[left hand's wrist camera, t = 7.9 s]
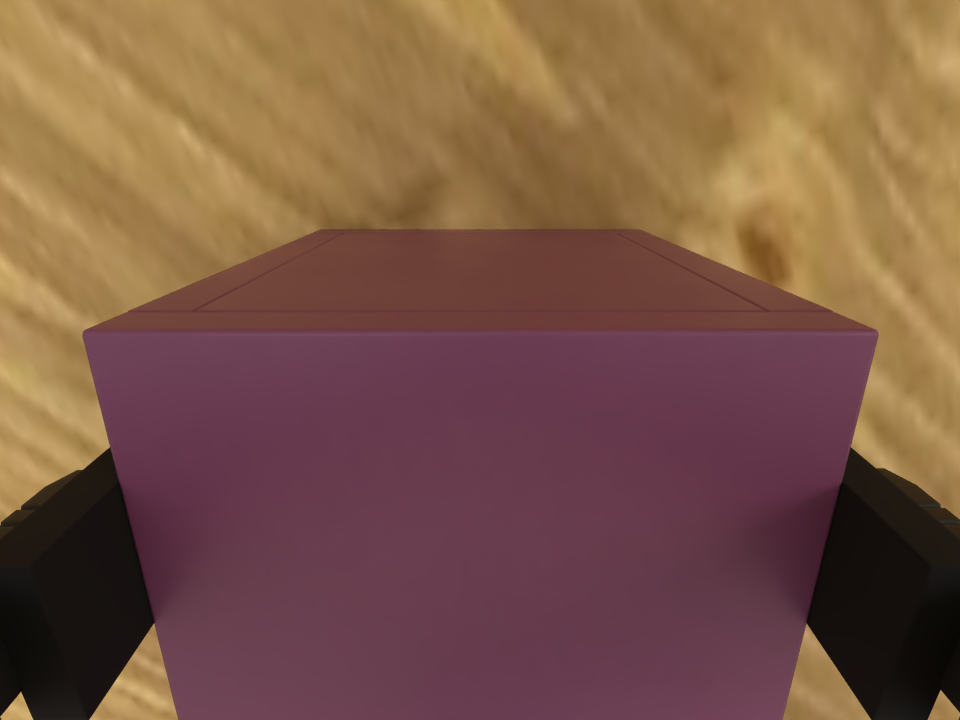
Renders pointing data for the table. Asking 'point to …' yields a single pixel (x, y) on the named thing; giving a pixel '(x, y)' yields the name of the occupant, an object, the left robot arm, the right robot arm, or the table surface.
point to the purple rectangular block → (480, 477)
